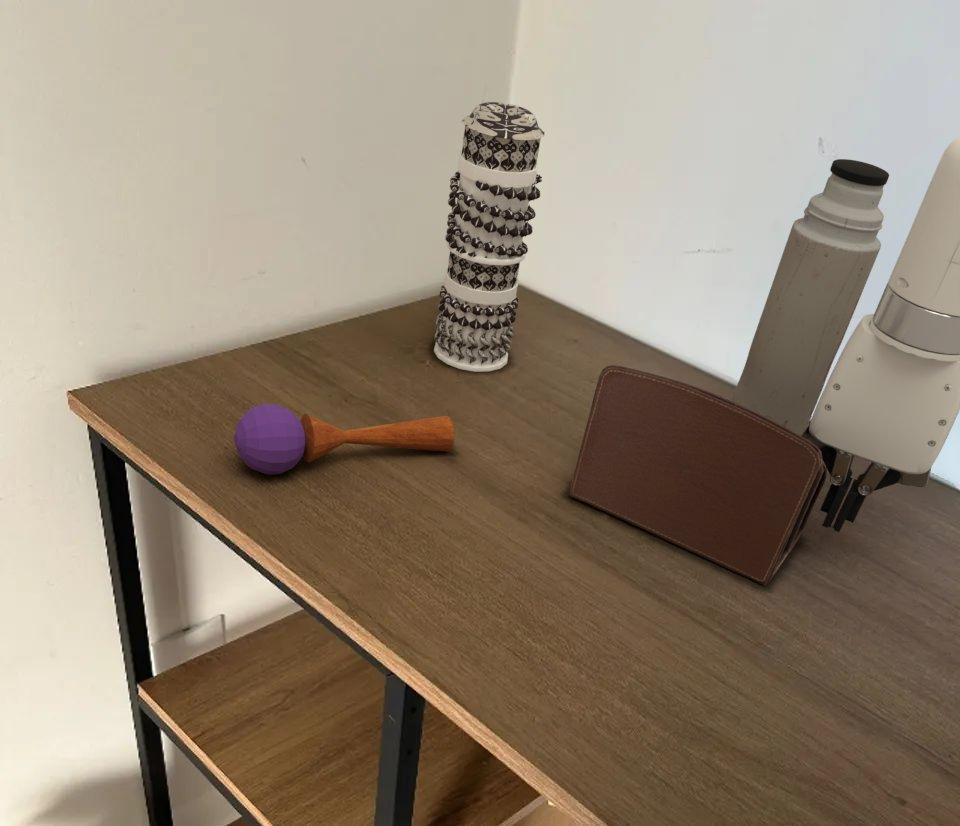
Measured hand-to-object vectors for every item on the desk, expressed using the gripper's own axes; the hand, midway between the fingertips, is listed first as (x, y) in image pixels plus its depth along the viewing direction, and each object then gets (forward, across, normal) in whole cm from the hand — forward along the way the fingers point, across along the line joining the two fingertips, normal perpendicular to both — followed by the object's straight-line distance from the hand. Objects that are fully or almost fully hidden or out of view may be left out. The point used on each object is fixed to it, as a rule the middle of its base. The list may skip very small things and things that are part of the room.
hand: (833, 521), depth 84 cm
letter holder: (+4, +12, +1) cm, 13 cm away
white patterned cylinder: (+4, +43, -14) cm, 46 cm away
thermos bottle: (+4, +10, -16) cm, 20 cm away
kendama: (+4, +42, +13) cm, 44 cm away
